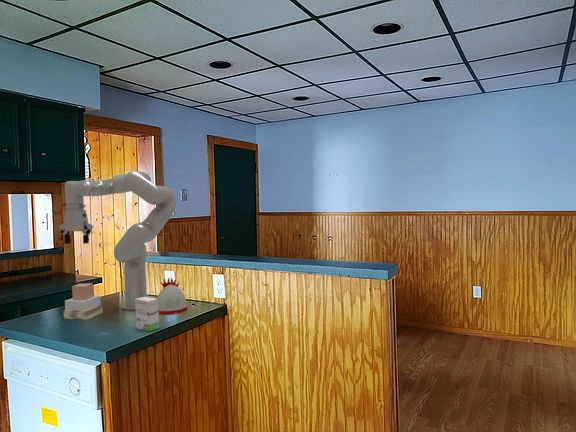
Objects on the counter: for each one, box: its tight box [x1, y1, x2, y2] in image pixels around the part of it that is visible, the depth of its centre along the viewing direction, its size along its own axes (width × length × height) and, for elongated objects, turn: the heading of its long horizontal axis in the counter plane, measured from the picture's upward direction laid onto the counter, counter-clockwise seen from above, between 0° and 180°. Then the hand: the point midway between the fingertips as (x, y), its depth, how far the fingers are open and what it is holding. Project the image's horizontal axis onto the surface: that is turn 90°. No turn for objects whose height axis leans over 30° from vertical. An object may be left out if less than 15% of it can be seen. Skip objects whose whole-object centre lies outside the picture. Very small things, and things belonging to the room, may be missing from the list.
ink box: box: [135, 296, 160, 332], centre depth 164 cm, size 9×5×12 cm, turn 55°
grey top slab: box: [64, 295, 102, 311], centre depth 185 cm, size 10×10×4 cm
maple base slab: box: [63, 303, 104, 320], centre depth 185 cm, size 11×11×4 cm
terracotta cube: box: [71, 283, 95, 300], centre depth 184 cm, size 6×6×6 cm
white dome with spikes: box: [156, 277, 188, 316], centre depth 189 cm, size 14×14×15 cm
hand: (76, 243), depth 199 cm, fingers open, 9 cm apart
